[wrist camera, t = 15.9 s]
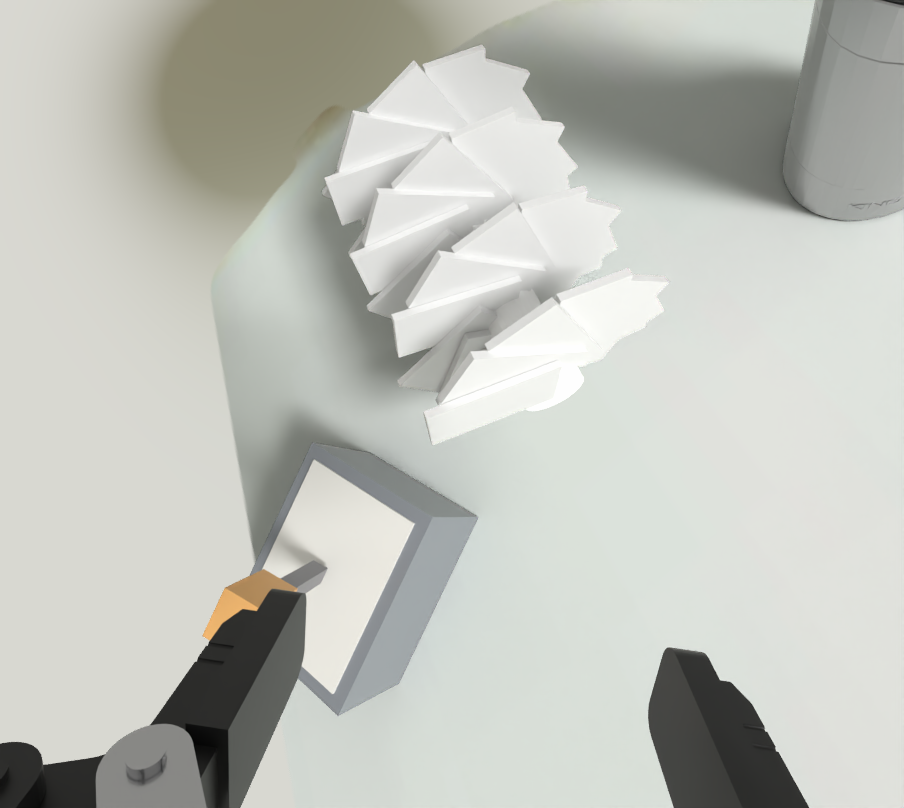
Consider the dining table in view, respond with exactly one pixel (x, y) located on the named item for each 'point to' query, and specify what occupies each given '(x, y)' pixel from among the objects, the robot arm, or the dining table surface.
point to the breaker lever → (261, 592)
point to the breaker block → (363, 567)
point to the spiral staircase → (481, 242)
